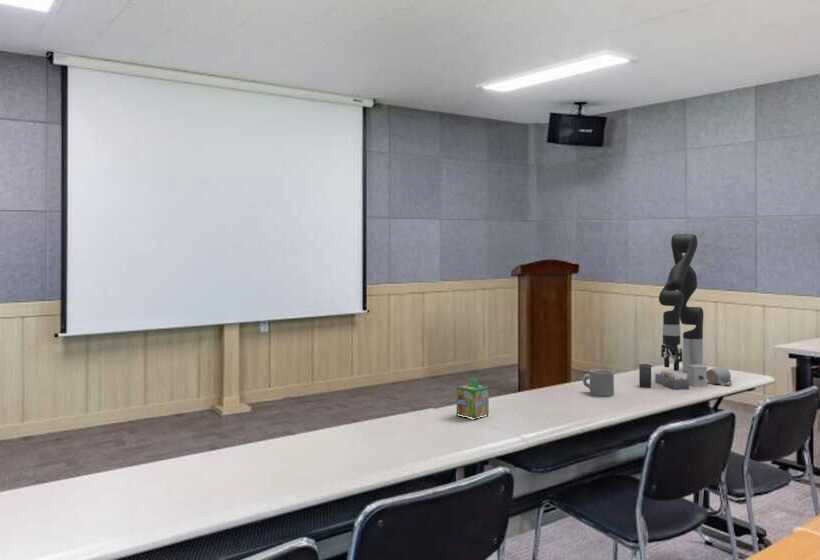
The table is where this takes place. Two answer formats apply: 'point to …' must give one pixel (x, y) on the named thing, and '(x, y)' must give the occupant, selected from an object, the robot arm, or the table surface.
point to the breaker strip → (671, 380)
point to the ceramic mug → (719, 376)
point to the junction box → (697, 375)
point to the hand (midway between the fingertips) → (671, 368)
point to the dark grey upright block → (645, 375)
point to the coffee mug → (600, 383)
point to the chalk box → (473, 399)
